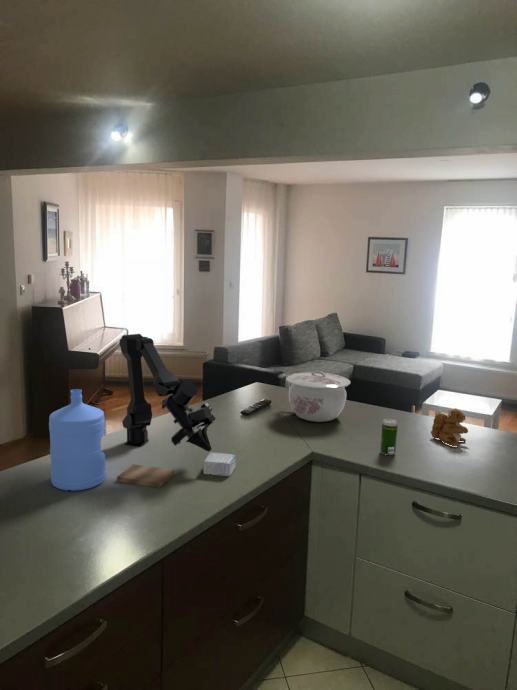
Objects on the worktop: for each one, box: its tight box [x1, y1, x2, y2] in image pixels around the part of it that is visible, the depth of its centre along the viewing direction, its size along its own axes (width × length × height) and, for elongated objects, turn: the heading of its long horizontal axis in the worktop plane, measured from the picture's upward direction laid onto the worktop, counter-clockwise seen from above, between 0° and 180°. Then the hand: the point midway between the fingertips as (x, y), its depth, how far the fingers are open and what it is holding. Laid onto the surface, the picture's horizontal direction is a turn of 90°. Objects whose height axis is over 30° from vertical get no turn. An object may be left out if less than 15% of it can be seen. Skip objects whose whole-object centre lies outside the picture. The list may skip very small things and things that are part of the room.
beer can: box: [379, 418, 399, 456], centre depth 186 cm, size 5×5×12 cm
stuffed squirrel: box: [430, 407, 469, 447], centre depth 200 cm, size 10×14×13 cm
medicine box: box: [202, 451, 236, 477], centre depth 168 cm, size 8×4×9 cm
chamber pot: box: [285, 370, 351, 423], centre depth 225 cm, size 28×28×21 cm
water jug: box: [48, 388, 107, 492], centre depth 156 cm, size 16×16×28 cm
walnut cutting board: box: [116, 463, 175, 489], centre depth 161 cm, size 14×10×2 cm
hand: (210, 450), depth 166 cm, fingers closed
